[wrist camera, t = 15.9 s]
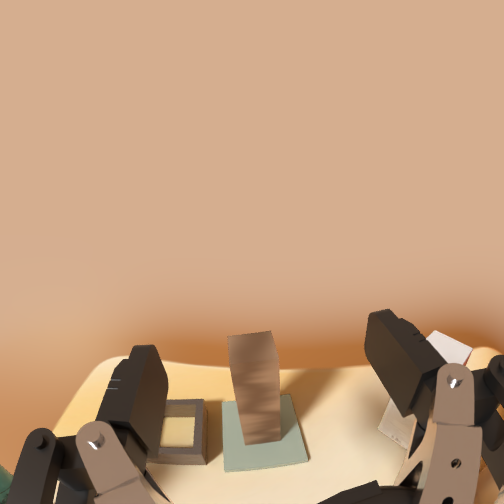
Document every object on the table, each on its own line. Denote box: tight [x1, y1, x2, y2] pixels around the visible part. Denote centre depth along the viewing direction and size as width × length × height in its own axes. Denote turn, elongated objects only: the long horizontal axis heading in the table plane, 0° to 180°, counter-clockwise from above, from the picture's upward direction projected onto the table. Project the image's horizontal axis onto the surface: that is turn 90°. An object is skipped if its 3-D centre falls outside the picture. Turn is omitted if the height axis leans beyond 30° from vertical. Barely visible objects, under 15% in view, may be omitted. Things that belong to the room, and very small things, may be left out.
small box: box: [377, 330, 473, 450], centre depth 25 cm, size 8×6×13 cm
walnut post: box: [228, 331, 281, 446], centre depth 28 cm, size 4×4×15 cm
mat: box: [222, 394, 308, 472], centre depth 31 cm, size 10×12×1 cm
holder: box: [146, 399, 207, 465], centre depth 30 cm, size 10×10×3 cm
